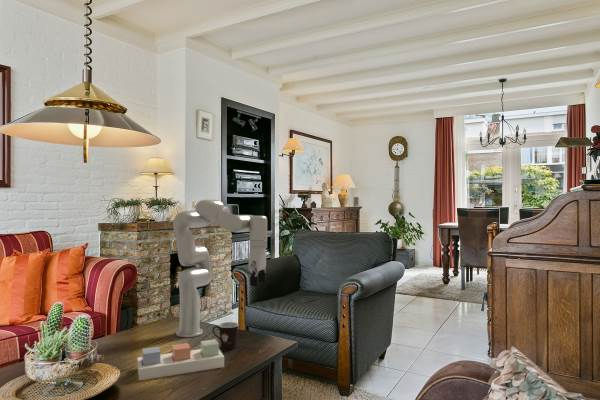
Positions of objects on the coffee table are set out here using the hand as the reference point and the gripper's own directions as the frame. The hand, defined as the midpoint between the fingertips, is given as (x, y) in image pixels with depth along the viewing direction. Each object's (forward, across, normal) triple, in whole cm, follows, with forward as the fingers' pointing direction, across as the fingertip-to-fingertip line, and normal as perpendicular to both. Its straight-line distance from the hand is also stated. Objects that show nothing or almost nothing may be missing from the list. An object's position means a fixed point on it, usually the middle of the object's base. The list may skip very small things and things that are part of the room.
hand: (257, 283), depth 177 cm
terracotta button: (+26, +25, -22) cm, 42 cm away
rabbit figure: (+30, +31, -62) cm, 75 cm away
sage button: (+26, +18, -13) cm, 34 cm away
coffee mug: (+29, -1, -15) cm, 33 cm away
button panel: (+29, +25, -22) cm, 44 cm away
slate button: (+26, +32, -30) cm, 51 cm away
